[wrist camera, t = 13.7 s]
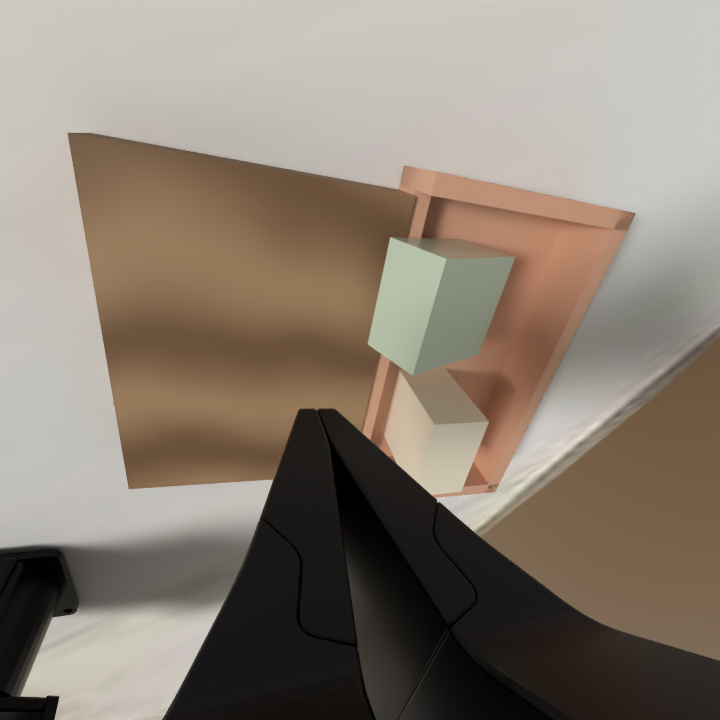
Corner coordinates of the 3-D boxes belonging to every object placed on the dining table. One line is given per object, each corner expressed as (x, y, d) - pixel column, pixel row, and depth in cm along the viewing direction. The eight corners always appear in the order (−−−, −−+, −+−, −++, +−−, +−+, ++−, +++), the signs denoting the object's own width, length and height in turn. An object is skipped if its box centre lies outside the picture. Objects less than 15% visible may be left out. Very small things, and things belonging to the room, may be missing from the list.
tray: (469, 454, 28) (494, 491, 25) (341, 462, 25) (353, 505, 22) (578, 201, 19) (635, 213, 16) (404, 165, 16) (437, 172, 13)
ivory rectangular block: (383, 434, 24) (425, 431, 25) (411, 497, 20) (461, 491, 21) (398, 368, 21) (444, 368, 22) (434, 424, 17) (489, 421, 18)
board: (344, 451, 24) (350, 474, 23) (138, 460, 21) (128, 488, 19) (399, 190, 17) (415, 195, 15) (90, 133, 13) (67, 132, 12)
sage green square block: (434, 330, 21) (478, 354, 19) (367, 344, 18) (412, 375, 16) (461, 239, 18) (515, 257, 16) (390, 237, 15) (446, 258, 13)
